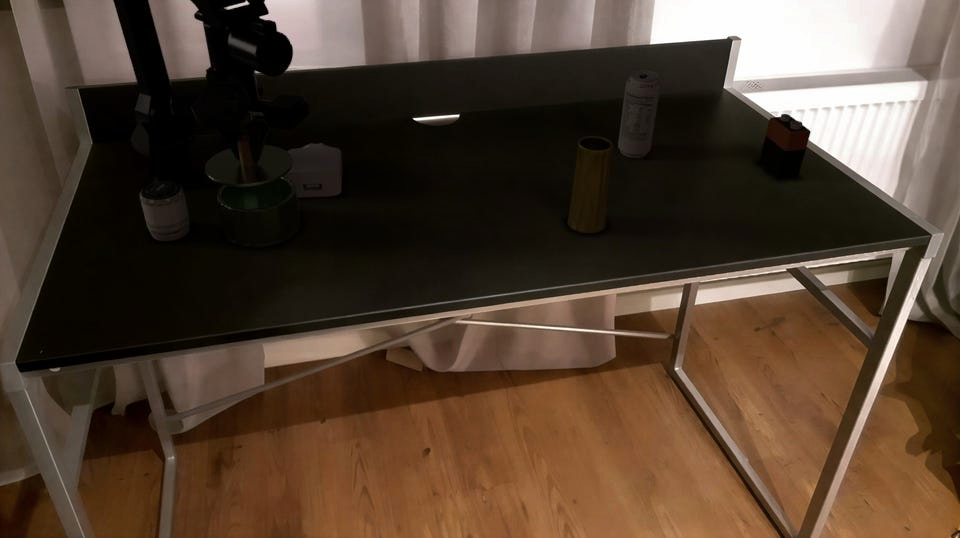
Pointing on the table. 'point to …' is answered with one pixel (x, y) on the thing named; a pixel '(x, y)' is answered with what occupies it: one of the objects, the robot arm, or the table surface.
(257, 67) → the robot arm
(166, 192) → the camera lens
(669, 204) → the table surface
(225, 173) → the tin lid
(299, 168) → the charger
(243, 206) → the tin
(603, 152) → the vase
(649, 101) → the energy drink can
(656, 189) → the table surface
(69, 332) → the table surface
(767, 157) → the battery
